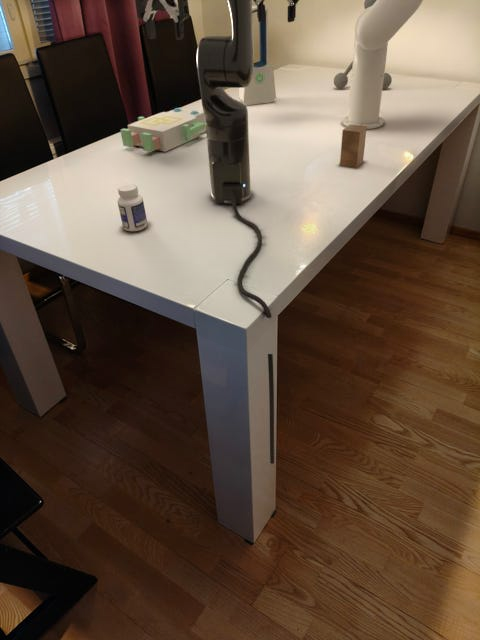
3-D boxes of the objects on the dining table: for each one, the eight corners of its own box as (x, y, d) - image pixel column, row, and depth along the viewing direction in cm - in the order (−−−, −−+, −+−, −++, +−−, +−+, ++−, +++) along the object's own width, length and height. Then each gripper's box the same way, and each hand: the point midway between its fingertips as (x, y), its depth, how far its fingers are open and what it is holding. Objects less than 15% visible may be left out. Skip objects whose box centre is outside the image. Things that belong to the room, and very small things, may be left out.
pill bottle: (149, 220, 107) (142, 181, 102) (146, 231, 103) (138, 191, 98) (125, 221, 107) (116, 182, 102) (121, 232, 103) (112, 193, 98)
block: (363, 161, 129) (366, 126, 123) (356, 168, 126) (360, 132, 120) (346, 159, 131) (349, 124, 125) (339, 165, 128) (342, 129, 122)
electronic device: (244, 105, 178) (240, 9, 160) (238, 101, 184) (234, 7, 165) (276, 101, 180) (276, 5, 162) (270, 97, 186) (269, 4, 168)
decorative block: (168, 104, 160) (216, 111, 150) (170, 124, 164) (217, 132, 154) (109, 125, 144) (159, 134, 134) (114, 147, 148) (162, 157, 138)
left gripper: (190, -44, 111) (197, 37, 121) (142, -42, 117) (153, 36, 127) (170, -42, 106) (180, 42, 116) (121, -40, 112) (134, 40, 122)
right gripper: (310, -55, 130) (308, 20, 141) (254, -52, 138) (256, 19, 148) (298, -54, 125) (297, 23, 136) (241, -50, 133) (244, 22, 143)
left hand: (165, 39), depth 122 cm, fingers open, 8 cm apart
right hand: (276, 21), depth 142 cm, fingers open, 9 cm apart
